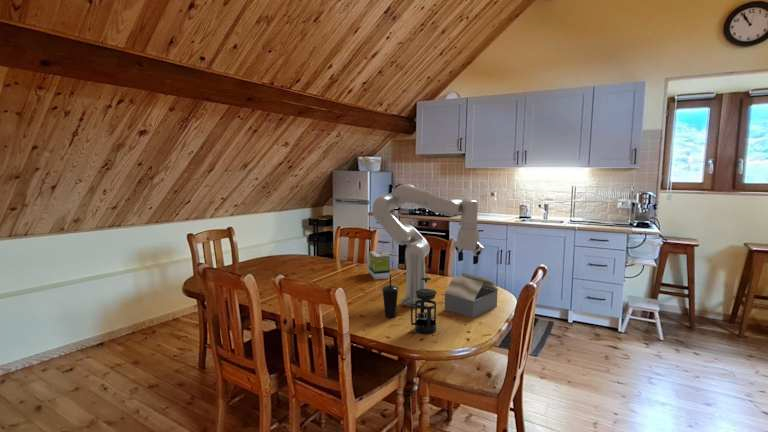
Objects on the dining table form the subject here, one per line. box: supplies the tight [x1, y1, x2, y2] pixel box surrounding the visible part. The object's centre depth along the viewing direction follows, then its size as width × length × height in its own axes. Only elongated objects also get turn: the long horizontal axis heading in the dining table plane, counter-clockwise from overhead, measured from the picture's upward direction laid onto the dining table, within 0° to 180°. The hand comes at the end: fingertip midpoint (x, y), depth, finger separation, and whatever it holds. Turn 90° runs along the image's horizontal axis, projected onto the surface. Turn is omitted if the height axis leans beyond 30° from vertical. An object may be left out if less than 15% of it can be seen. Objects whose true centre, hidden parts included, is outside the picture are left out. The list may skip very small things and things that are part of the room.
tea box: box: [368, 250, 391, 280], centre depth 259 cm, size 15×10×15 cm, turn 17°
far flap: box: [461, 272, 499, 292], centre depth 207 cm, size 11×16×1 cm
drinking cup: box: [381, 274, 399, 319], centre depth 191 cm, size 8×8×20 cm
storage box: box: [444, 287, 498, 319], centre depth 203 cm, size 22×16×8 cm
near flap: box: [444, 275, 483, 301], centre depth 197 cm, size 11×16×1 cm
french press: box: [410, 276, 437, 335], centre depth 175 cm, size 12×9×23 cm
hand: (467, 262), depth 197 cm, fingers open, 7 cm apart
